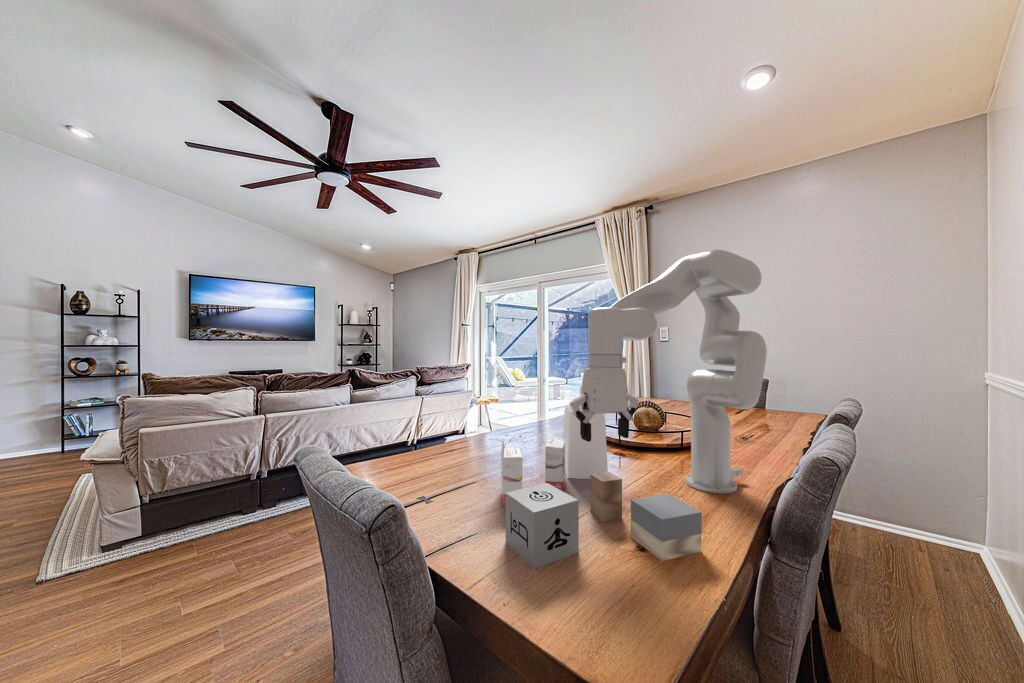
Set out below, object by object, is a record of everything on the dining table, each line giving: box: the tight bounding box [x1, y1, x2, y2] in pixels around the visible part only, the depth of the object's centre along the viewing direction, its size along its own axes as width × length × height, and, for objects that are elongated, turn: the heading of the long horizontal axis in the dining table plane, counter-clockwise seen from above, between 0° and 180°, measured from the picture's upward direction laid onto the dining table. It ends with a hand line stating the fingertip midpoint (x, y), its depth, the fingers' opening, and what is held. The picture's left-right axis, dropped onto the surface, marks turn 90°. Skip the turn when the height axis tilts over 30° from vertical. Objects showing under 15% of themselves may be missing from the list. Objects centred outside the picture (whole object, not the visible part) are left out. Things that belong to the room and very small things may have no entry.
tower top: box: [630, 493, 703, 542], centre depth 73 cm, size 9×9×4 cm
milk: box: [563, 384, 609, 480], centre depth 114 cm, size 12×12×26 cm
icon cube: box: [505, 482, 580, 570], centre depth 72 cm, size 10×10×10 cm
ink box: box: [544, 438, 566, 492], centre depth 103 cm, size 9×5×12 cm, turn 168°
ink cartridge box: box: [500, 437, 524, 507], centre depth 94 cm, size 9×5×15 cm, turn 5°
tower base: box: [630, 519, 702, 562], centre depth 73 cm, size 9×9×4 cm
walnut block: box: [589, 471, 623, 523], centre depth 85 cm, size 5×5×9 cm
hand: (605, 438), depth 85 cm, fingers open, 9 cm apart
